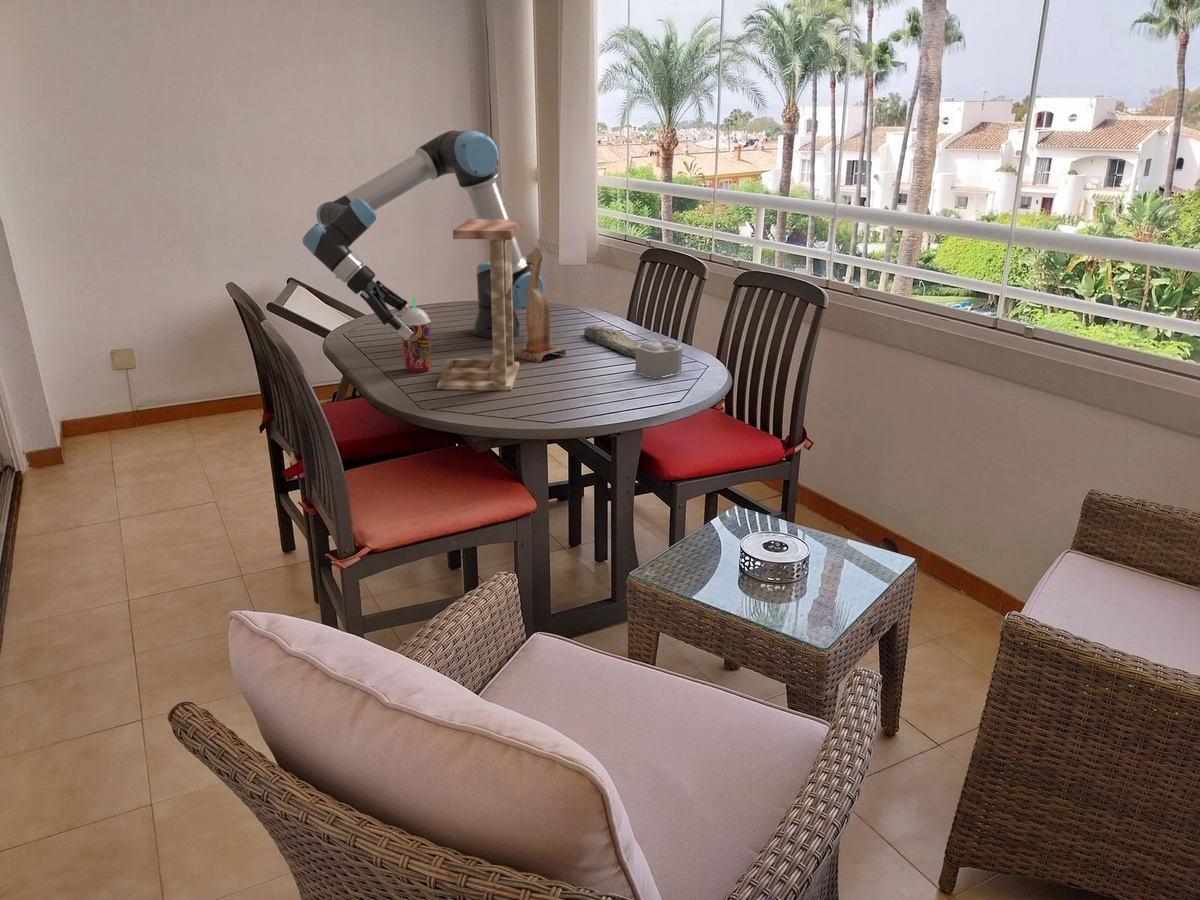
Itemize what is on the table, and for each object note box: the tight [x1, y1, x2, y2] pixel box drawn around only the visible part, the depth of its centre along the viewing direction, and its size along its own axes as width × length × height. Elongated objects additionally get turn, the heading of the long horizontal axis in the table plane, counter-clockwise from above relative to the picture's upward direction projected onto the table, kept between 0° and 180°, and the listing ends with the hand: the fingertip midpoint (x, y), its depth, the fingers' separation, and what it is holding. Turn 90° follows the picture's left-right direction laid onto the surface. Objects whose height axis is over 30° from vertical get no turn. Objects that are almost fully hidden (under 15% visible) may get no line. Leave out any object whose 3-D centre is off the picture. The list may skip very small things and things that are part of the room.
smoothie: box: [400, 297, 432, 373], centre depth 236 cm, size 8×8×20 cm
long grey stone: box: [583, 324, 643, 359], centre depth 268 cm, size 35×5×10 cm
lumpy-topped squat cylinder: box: [635, 338, 683, 377], centre depth 240 cm, size 10×13×9 cm
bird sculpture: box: [514, 246, 567, 363], centre depth 249 cm, size 11×12×32 cm
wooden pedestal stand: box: [436, 218, 522, 391], centre depth 226 cm, size 20×26×40 cm
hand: (415, 331), depth 235 cm, fingers open, 13 cm apart
